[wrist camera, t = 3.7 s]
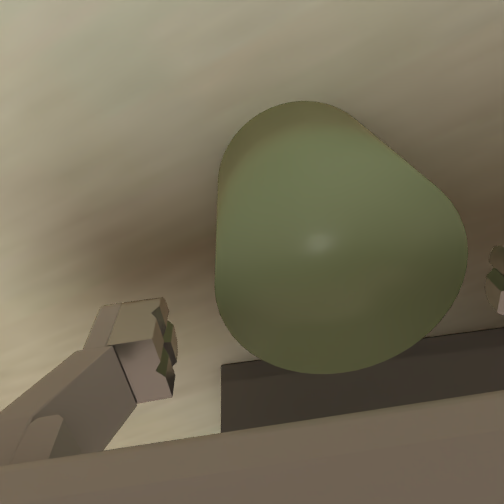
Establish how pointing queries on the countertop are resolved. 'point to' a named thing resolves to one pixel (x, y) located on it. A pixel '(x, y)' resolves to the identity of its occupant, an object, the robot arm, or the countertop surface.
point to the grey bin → (363, 382)
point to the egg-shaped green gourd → (330, 243)
